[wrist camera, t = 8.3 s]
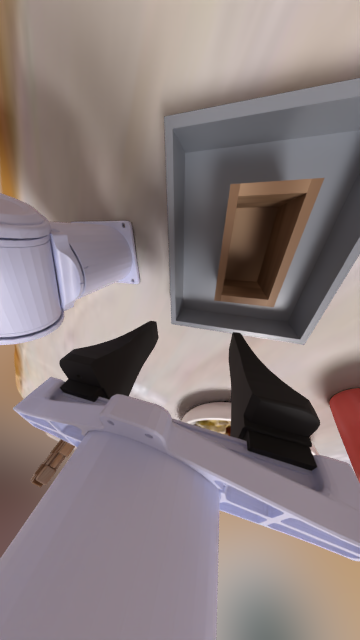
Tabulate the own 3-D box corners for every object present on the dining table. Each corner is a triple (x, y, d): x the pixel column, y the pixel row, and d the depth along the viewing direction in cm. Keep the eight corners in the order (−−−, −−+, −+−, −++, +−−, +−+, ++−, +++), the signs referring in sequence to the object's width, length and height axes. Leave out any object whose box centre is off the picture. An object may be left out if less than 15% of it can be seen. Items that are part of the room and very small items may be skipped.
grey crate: (180, 309, 23) (171, 323, 19) (181, 148, 14) (164, 116, 10) (289, 323, 19) (304, 344, 15) (388, 119, 10) (482, 53, 6)
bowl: (168, 422, 46) (159, 453, 39) (214, 374, 29) (211, 415, 22) (253, 465, 45) (257, 504, 39) (351, 443, 28) (389, 506, 21)
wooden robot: (72, 440, 106) (39, 484, 87) (62, 433, 104) (26, 477, 85) (87, 434, 84) (47, 492, 65) (75, 426, 82) (31, 483, 64)
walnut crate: (217, 282, 18) (214, 300, 13) (229, 201, 14) (230, 184, 9) (260, 285, 17) (273, 307, 12) (286, 198, 13) (324, 177, 8)
